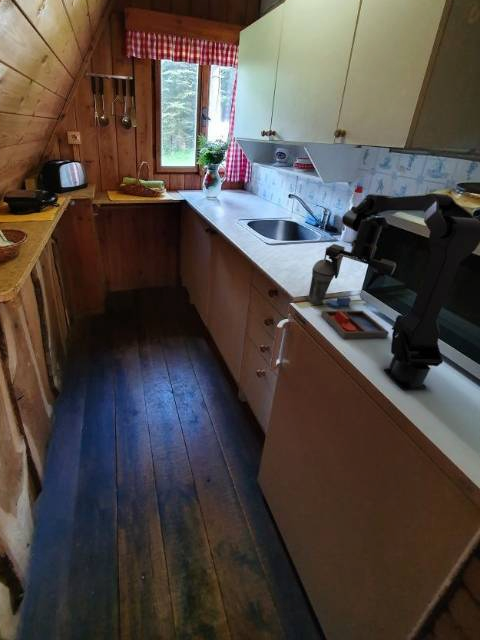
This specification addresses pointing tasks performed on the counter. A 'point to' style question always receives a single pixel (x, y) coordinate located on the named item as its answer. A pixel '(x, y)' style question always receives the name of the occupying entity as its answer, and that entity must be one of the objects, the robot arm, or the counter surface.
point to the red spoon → (344, 321)
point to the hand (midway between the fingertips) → (350, 283)
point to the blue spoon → (339, 302)
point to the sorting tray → (356, 325)
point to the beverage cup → (320, 280)
